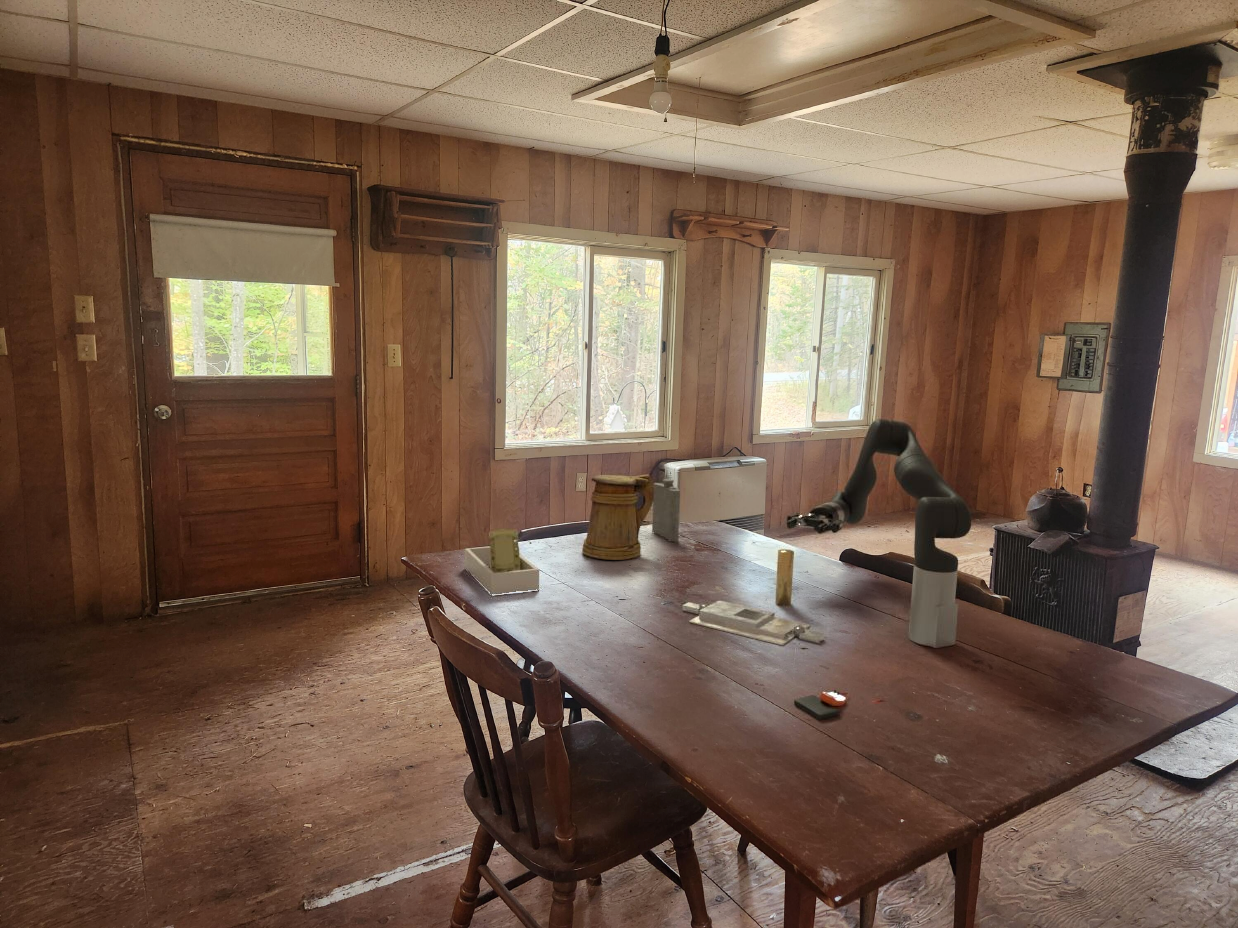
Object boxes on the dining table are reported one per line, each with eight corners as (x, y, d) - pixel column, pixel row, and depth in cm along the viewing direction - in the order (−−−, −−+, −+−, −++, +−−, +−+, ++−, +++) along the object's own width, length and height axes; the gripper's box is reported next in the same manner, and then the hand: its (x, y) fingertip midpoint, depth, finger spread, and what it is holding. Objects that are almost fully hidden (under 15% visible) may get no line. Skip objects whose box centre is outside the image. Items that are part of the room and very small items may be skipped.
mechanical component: (522, 596, 228) (517, 527, 233) (521, 591, 211) (516, 516, 216) (495, 599, 227) (490, 529, 232) (491, 594, 211) (487, 519, 215)
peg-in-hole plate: (833, 631, 189) (834, 621, 189) (807, 651, 176) (807, 641, 176) (701, 601, 209) (701, 592, 209) (668, 617, 196) (668, 607, 196)
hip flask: (650, 531, 286) (652, 476, 283) (660, 530, 287) (662, 475, 284) (671, 542, 271) (673, 483, 268) (682, 541, 273) (684, 483, 270)
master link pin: (794, 605, 208) (797, 552, 206) (781, 606, 206) (784, 553, 204) (784, 600, 211) (787, 548, 209) (772, 602, 210) (774, 549, 208)
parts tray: (539, 591, 214) (539, 569, 213) (491, 596, 209) (491, 574, 208) (508, 564, 240) (508, 544, 239) (465, 568, 234) (464, 548, 233)
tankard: (573, 549, 259) (574, 472, 255) (638, 543, 269) (640, 469, 265) (596, 564, 242) (597, 482, 239) (664, 556, 253) (667, 478, 249)
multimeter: (854, 682, 161) (855, 666, 161) (896, 707, 150) (898, 690, 150) (778, 697, 154) (779, 680, 154) (817, 724, 143) (818, 706, 143)
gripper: (803, 500, 232) (780, 509, 219) (852, 507, 224) (830, 517, 210) (802, 526, 233) (778, 536, 220) (850, 534, 225) (828, 545, 212)
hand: (804, 527), depth 215 cm, fingers open, 8 cm apart
